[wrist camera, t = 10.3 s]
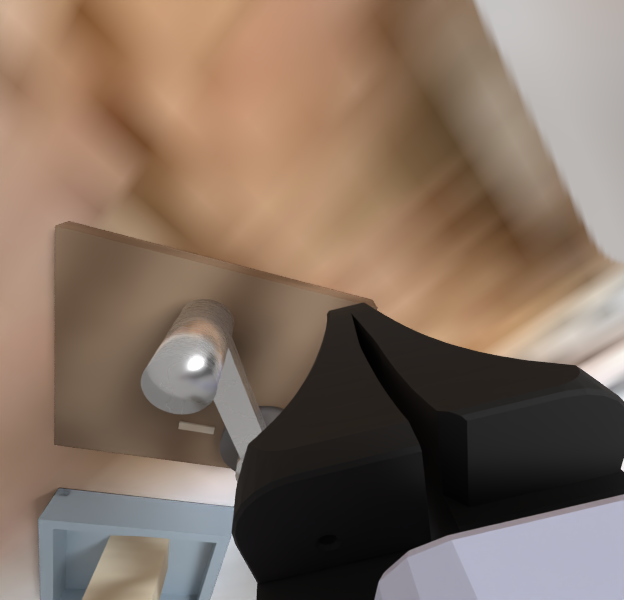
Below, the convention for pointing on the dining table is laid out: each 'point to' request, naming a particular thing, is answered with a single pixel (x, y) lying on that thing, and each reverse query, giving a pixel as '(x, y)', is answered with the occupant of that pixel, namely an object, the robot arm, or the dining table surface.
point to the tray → (130, 522)
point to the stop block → (130, 569)
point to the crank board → (151, 332)
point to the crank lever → (204, 373)
